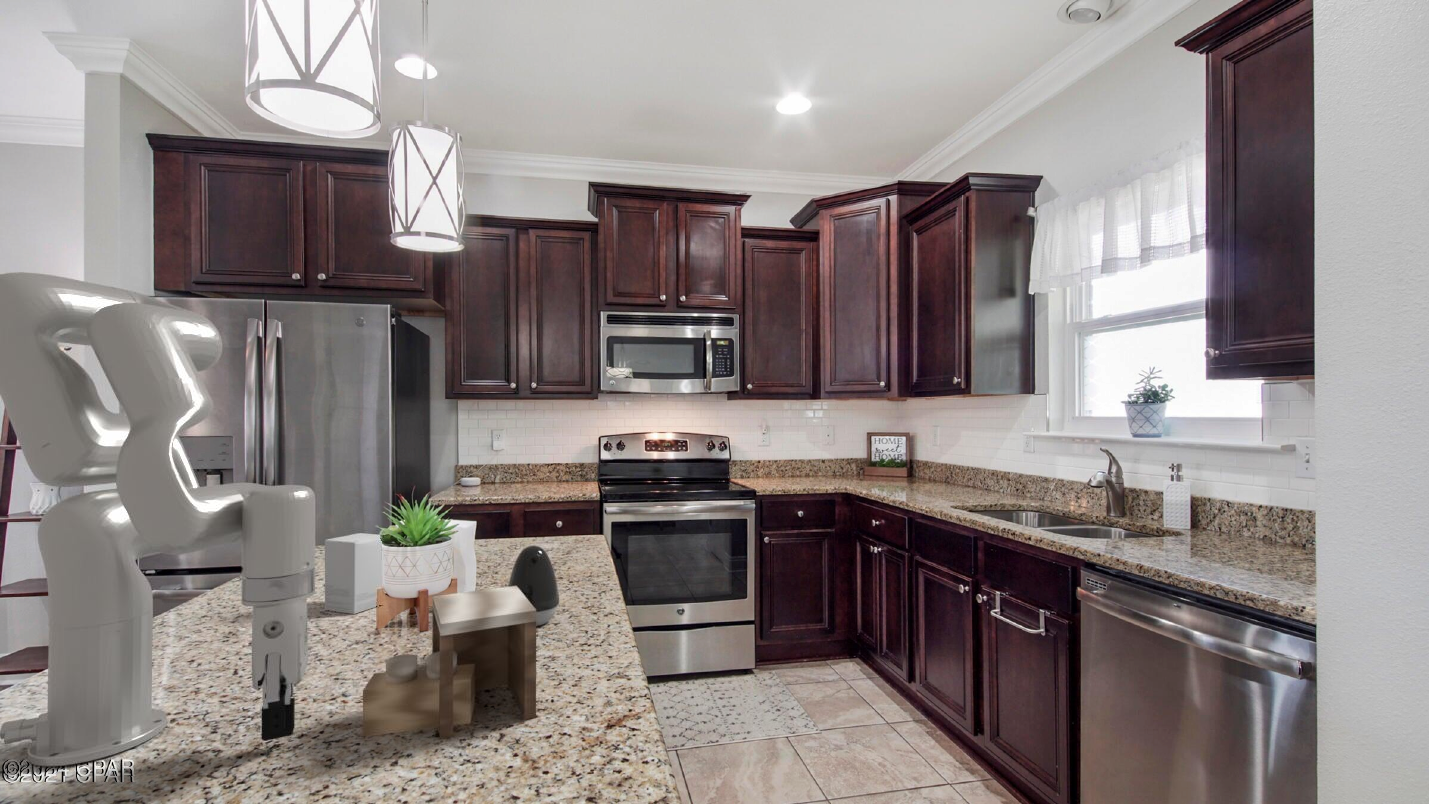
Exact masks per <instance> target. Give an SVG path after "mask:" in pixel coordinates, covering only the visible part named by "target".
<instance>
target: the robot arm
mask: <svg viewBox="0 0 1429 804" xmlns="http://www.w3.org/2000/svg"><path fill="white" fill-rule="evenodd" d="M60 343H62V344H71V345H72V344H73V345H80V346H90V347H91V348H92V350H93V352H94V354H95V356H96V359H97V360H98V363H99V365H100V366H101V368H102V372H103V373H104V374H105V377H106V379H107V381H108V382H109V385H110V386H111V389H112V391H113V393H114V395H115V398H116V399H117V401H118V403H119V405H120V407H121V409H122V411H123V413H121V412H120V413H117V412H112V411H110V410H108V408H106V407H105V405H104V403H103V401H102V399H101V398H100V395H99V393H98V389H97V387H96V385H95V382H94V381H93V379H92V377H91V376H90V375H89V373H88V372H87V371H86V370H85V369H84V367H83V366H81V364H79V363H78V362H77V360H75V359H74V358H73V357H71V356H70V355H68V354H67V353H66V352H65V351H64V350H62V349H61V348H60V347H59V344H60ZM222 353H223V340H222V337H221V333H220V332H219V330H218V328H217V327H216V326H215V324H213V322H212V321H211V320H210V319H208V317H205V316H204V315H202V314H200V313H198V312H194V311H191V310H189V309H185V308H182V307H180V306H176V305H174V304H171V303H168V302H165V301H162V300H159V299H157V298H155V297H151V296H149V295H145V294H142V293H140V292H139V293H138V292H136V291H132V290H128V289H123V288H119V287H114V286H110V285H109V286H108V285H103V284H98V283H93V282H89V281H84V280H78V279H74V278H73V279H72V278H68V277H62V276H58V275H53V274H46V273H45V274H43V273H37V272H24V271H23V272H18V271H17V272H6V273H5V272H4V273H0V398H1V399H2V402H3V405H4V407H5V411H6V414H7V417H8V419H9V421H10V424H11V427H12V428H13V430H14V433H15V436H16V439H17V441H18V443H19V445H20V449H21V451H22V453H23V456H24V459H25V461H26V462H27V466H28V468H29V469H30V470H31V473H32V475H33V476H34V477H35V478H36V479H37V480H38V481H39V482H41V484H45V485H47V486H50V487H55V488H57V487H58V488H75V487H89V486H98V485H108V484H115V485H116V486H115V487H116V488H111V489H101V490H94V491H89V492H83V493H79V494H77V495H76V494H75V495H73V496H70V497H67V498H65V499H62V500H60V501H59V502H57V503H56V504H54V505H53V506H51V507H50V508H49V509H48V510H47V511H46V512H45V513H44V515H43V516H42V518H41V519H40V521H39V524H38V529H37V542H38V547H39V552H40V553H41V554H40V555H41V559H42V562H43V566H44V570H45V574H46V581H47V593H48V595H47V596H48V659H47V661H48V663H47V669H48V671H47V673H48V674H47V679H48V680H47V712H45V713H44V712H43V713H41V714H39V715H38V717H33V718H27V719H26V718H23V719H22V718H20V719H15V720H9V721H4V722H3V723H2V725H1V726H0V739H1V740H3V743H4V744H6V745H7V744H12V743H18V742H21V741H26V740H31V741H33V743H31V745H30V746H29V747H28V750H27V760H28V762H29V763H31V764H32V765H35V766H40V767H62V766H63V767H64V766H70V765H76V764H81V763H87V762H91V761H95V760H99V759H102V758H105V757H111V756H113V755H116V754H119V753H121V752H125V751H126V750H131V749H132V748H135V747H136V746H139V745H141V744H143V743H146V742H148V741H149V740H151V739H153V738H154V737H156V735H158V734H159V733H160V732H162V731H163V729H164V728H165V727H166V726H167V723H168V721H167V720H168V719H167V717H168V716H167V713H166V712H165V711H163V710H160V709H155V708H152V707H153V706H152V702H153V701H152V696H153V695H152V694H153V693H152V692H153V637H154V636H153V633H154V632H153V627H154V626H153V623H154V621H153V619H154V607H153V606H154V605H153V603H154V600H153V599H154V597H153V589H152V586H151V584H150V582H149V579H148V578H147V577H146V576H145V574H144V573H143V572H142V571H141V569H140V568H139V566H138V564H137V562H136V560H138V559H142V558H144V557H145V558H146V557H149V556H154V555H158V554H165V555H175V556H176V555H177V556H178V555H185V554H191V553H196V552H200V551H204V550H208V549H212V548H217V547H220V546H227V545H230V544H236V543H238V542H241V605H243V606H246V607H252V616H251V617H252V620H251V622H252V623H251V682H252V683H251V684H252V688H253V689H254V690H255V691H257V692H260V690H261V688H262V707H261V736H260V737H261V740H262V741H264V742H265V741H271V740H275V739H276V740H277V739H280V738H286V737H290V736H292V735H293V733H294V730H295V724H296V723H295V722H296V721H295V719H296V717H295V714H296V713H295V712H296V711H295V710H296V709H295V708H296V707H295V704H296V703H295V701H296V700H295V699H296V698H295V697H294V685H298V684H300V683H301V682H302V681H303V679H304V676H305V673H306V671H307V670H306V669H307V666H308V663H309V644H308V643H309V641H308V640H309V638H308V637H309V636H308V635H309V634H308V603H307V599H308V598H311V597H313V596H314V595H315V594H316V494H315V491H314V490H313V489H312V488H311V487H309V486H307V485H298V484H283V485H282V484H279V485H265V484H261V483H256V482H255V483H254V482H234V483H233V482H231V483H225V484H213V485H205V486H200V484H199V481H198V479H197V476H196V474H195V471H194V469H193V466H192V464H191V462H190V461H191V460H190V458H189V456H188V454H187V451H186V449H185V446H184V445H183V442H182V441H181V440H182V439H181V438H180V436H179V435H178V434H179V433H182V432H184V431H186V430H189V429H191V428H193V427H195V426H196V425H198V424H199V423H201V422H203V421H204V420H206V418H208V417H209V416H210V415H211V413H212V412H213V410H214V400H213V399H212V397H211V395H210V393H209V391H208V389H207V387H206V386H205V383H204V381H203V380H202V377H201V376H200V373H199V372H204V371H207V370H209V369H210V368H212V367H214V366H215V365H216V364H217V363H218V362H219V360H220V358H221V356H222Z"/></svg>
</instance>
